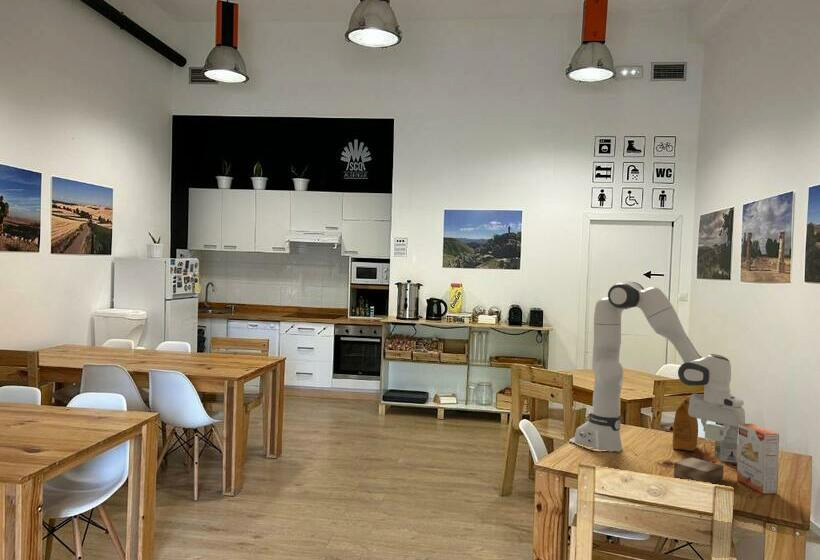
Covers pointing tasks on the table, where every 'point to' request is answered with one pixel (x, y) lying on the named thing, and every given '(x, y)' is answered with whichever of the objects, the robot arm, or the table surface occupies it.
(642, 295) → the robot arm
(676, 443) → the coffee package
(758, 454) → the cracker box
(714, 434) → the sage cube
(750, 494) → the table surface
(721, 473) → the walnut block
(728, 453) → the coffee box
